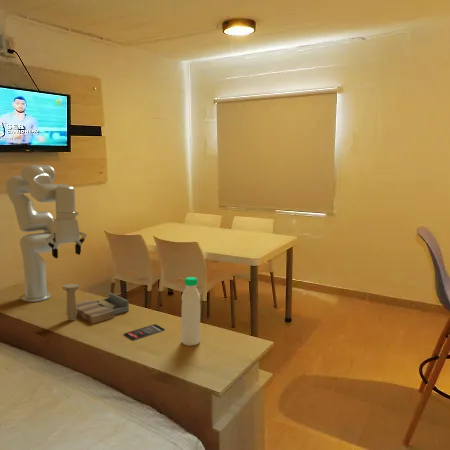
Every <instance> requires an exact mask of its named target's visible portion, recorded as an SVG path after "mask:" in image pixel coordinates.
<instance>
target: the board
mask: <svg viewBox="0 0 450 450" xmlns="http://www.w3.org/2000/svg"><path fill="white" fill-rule="evenodd" d="M95 301H96V300H93V299H87V300H83V301H80V302H76V305H77V314H76V316H78V317H80V318H81V319H84V320H85V321H86V322H88V323H91V324H92V325H94V324H96V323H97V324H98V323H101V322H105V321H107V320H110V319H115V316H114V311H113V310H111V309H109V308H107V307H105V306H103V305H101V304H99V303H97V302H95Z"/></svg>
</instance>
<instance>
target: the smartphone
mask: <svg viewBox="0 0 450 450" xmlns="http://www.w3.org/2000/svg"><path fill="white" fill-rule="evenodd" d="M161 332H165V328H163V327H162V326H161V325H158V324H155V323H154V324H151V325H148V326H144V327H141V328H138V329H134V330H132V331H128V332H125V333H123V337H126V338H127V339H129V340H130V341H132V342H133V341H137V340H139V339H143V338H145V337H149V336H151V335H155V334H158V333H161Z"/></svg>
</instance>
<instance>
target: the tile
mask: <svg viewBox="0 0 450 450" xmlns="http://www.w3.org/2000/svg"><path fill="white" fill-rule="evenodd" d="M102 299H103V298H100V299H99V300H100V301H99V302H98V303H100V304H102V305H104V306H106V307H108V308H110V309H113V308H114V305H112V304H110V303H108V302H106V301H104V300H102Z"/></svg>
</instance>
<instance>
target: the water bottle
mask: <svg viewBox="0 0 450 450" xmlns="http://www.w3.org/2000/svg"><path fill="white" fill-rule="evenodd" d="M184 286H185V287H184V290H183V292H182V294H181V343H182V344H183V345H185V346H191V347H192V346H193V347H194V346H196V345H198V344H199V343H200V342H201V294H200V292H199V290H198V288H197V286H198V278H197V277H193V276H188V277H186V278H184Z"/></svg>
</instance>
